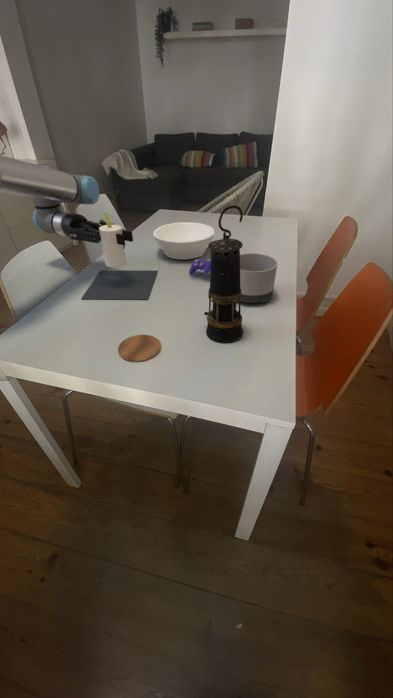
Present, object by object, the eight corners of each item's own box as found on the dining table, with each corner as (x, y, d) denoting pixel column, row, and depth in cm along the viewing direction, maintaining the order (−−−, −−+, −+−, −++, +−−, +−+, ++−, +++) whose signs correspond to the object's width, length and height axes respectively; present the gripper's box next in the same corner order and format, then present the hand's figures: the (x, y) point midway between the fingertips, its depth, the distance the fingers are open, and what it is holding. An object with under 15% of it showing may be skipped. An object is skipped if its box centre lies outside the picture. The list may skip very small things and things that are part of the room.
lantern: (202, 325, 82) (200, 200, 63) (235, 320, 83) (244, 196, 65) (211, 346, 75) (212, 212, 56) (248, 340, 76) (261, 208, 58)
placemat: (81, 299, 94) (80, 298, 94) (100, 271, 110) (100, 270, 109) (148, 300, 93) (147, 299, 93) (158, 271, 109) (157, 270, 108)
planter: (274, 288, 97) (279, 255, 90) (269, 309, 87) (274, 274, 81) (233, 283, 100) (235, 251, 94) (223, 303, 90) (225, 268, 84)
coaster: (113, 361, 71) (113, 360, 71) (123, 335, 79) (123, 334, 79) (157, 362, 70) (157, 361, 70) (163, 336, 78) (163, 334, 78)
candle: (123, 268, 93) (116, 214, 84) (102, 267, 94) (92, 213, 85) (129, 259, 98) (123, 208, 89) (108, 258, 99) (100, 207, 89)
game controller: (178, 266, 102) (197, 251, 106) (188, 288, 106) (206, 273, 111) (199, 266, 95) (219, 249, 99) (209, 289, 99) (227, 272, 104)
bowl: (164, 241, 131) (163, 220, 126) (218, 244, 128) (219, 223, 122) (147, 263, 114) (144, 240, 109) (209, 267, 110) (209, 243, 105)
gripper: (93, 231, 107) (147, 243, 97) (54, 245, 97) (110, 260, 86) (88, 207, 102) (144, 217, 92) (47, 219, 92) (104, 232, 82)
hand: (127, 238), depth 89 cm, fingers closed on candle, 2 cm apart
